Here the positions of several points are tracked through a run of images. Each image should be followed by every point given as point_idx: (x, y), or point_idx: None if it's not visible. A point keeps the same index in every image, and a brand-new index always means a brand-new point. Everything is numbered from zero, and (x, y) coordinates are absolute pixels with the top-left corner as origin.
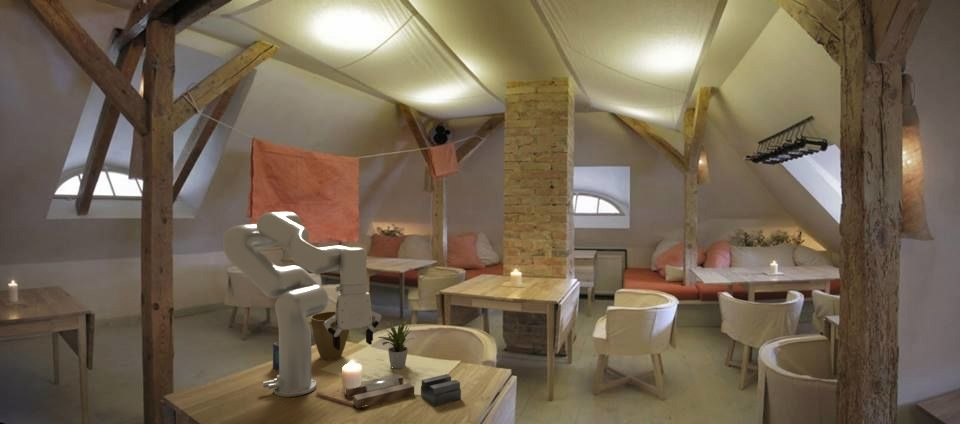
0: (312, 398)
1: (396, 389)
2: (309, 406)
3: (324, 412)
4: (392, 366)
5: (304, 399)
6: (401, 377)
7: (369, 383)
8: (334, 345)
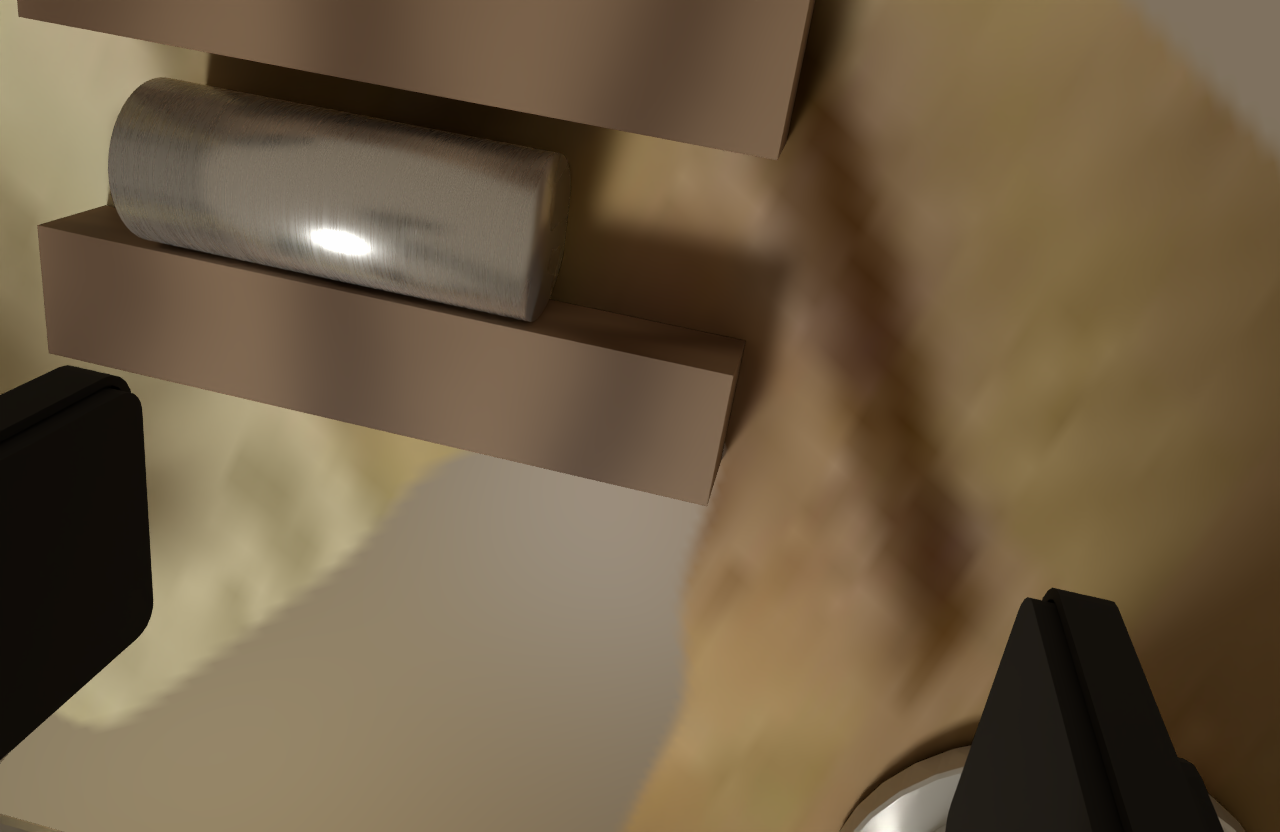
0: None
1: None
2: (1192, 453)
3: (1170, 181)
4: None
5: None
6: (53, 240)
7: (473, 266)
8: (1197, 782)
